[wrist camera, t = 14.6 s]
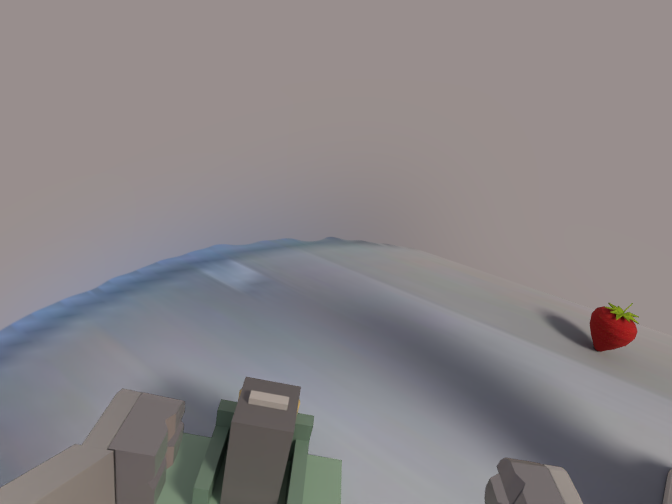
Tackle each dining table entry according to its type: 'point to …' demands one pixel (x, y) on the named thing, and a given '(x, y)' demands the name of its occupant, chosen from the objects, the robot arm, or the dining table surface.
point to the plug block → (259, 442)
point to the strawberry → (612, 328)
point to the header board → (210, 459)
